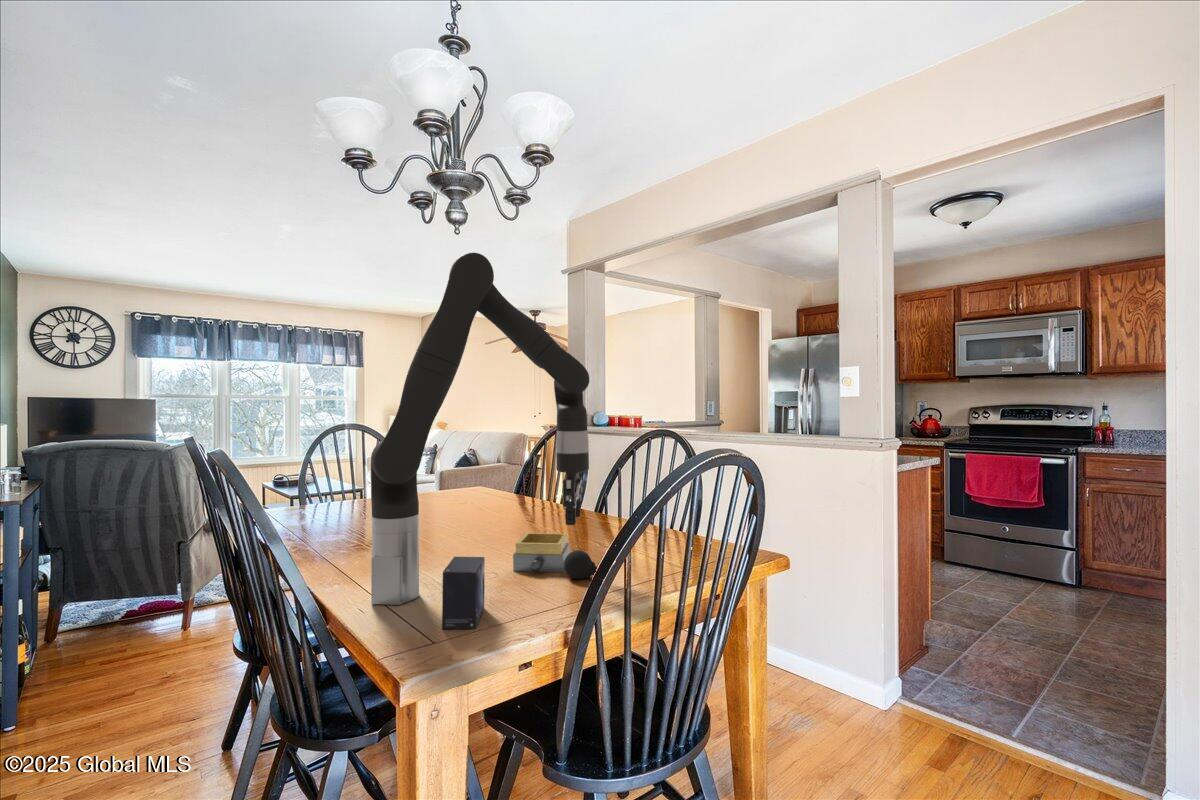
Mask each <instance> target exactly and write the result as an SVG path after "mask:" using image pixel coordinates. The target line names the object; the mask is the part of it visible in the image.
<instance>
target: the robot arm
mask: <svg viewBox="0 0 1200 800" xmlns="http://www.w3.org/2000/svg"><path fill="white" fill-rule="evenodd" d="M494 273H495V272H494V269H493V266H492V263H491V261H490V259H488V258H487V257H486V256H485V255H483V254H481V253H479V252H467V253H464V254H462V255H460V256H459V257H457V258H456V259H455V260H454V261H453V263H452V265H451V268H450V271H449V276H448V281H447V284H446V287H445V291H444V294H443V296H442V300H441V302H440V305H439V307H438V310H437V311H436V314H435V315H434V317H433V319H432V320H431V322H430V324H429V326H428V327H427V329H426V331H425V332H424V335H423V337H421V338H422V339H421V341H420V343H419V345H418V347H417V348H416V351H415V354H414V356H413V358H412V361H411V363H410V365H409V368H408V371H407V375H406V377H405V380H404V384H403V387H402V393H401V398H400V401H399V406H398V409H397V412H396V415H395V417H394V419H393V421H392V423H391V425H390V427H389V429H388V431H387V433H386V434H385V436H384V437H383V439H382V440H381V441H379V442H378V443H376V445H375V446H374V448H373V450H372V453H371V455H370V456H371V457H370V498H371V502H370V504H371V560H370V561H371V563H370V565H371V566H370V568H371V569H370V570H371V571H370V573H371V576H370V577H371V578H370V580H371V581H370V583H371V584H370V585H371V586H370V591H371V595H370V596H371V597H370V598H371V605H392V606H395V605H396V606H401V605H403V604H404V603H407V602H412V601H414V600H415V599H417V598H418V597H419V595H420V531H419V530H420V528H419V527H420V522H419V521H420V518H419V517H420V514H419V512H420V507H419V506H420V504H419V495H418V470H420V469H419V468H420V465H421V463H422V458H423V455H424V452H425V447H426V444H427V441H428V438H429V437H428V436H429V434H430V432H431V429H432V426H433V423H434V421H435V419H436V417H437V415H438V413H439V411H440V409H441V407H442V405H443V403H444V402H445V399H446V397H447V395H448V394H449V391H450V389H451V386H452V384H453V382H454V379H455V377H456V374H457V372H458V369H459V366H460V365H461V362H462V358H463V355H464V352H465V349H466V346H467V343H468V338H469V334H470V331H471V327H472V324H473V321H474V319H475V316H476V314H477V312H478V313H479V314H481V315H482V316H483V317H485V319H487V320H488V321H490V322H491V324H493V325H494V326H496V328H497V329H498V330H500V331H501V332H502V333H503V334H504V335H505V336H506V337H507V338H508V340H510V341H511V342H512V343H513V344H514V345H515V346H516V347H517V348H518V349H519V350H520V351H521V352H522V353H523V354H524V355H525V356H526V357H527V358H528V359H529V360H530V361H531V362H532V363H533V364H534V365H535V366H536V367H538V368H539V369H542V370H543V371H545V372H546V373H547V374H548V375H549V376H550V377H551V378H552V379H553V389H554V390H553V391H554V396H555V397H554V398H555V405H556V438H555V453H556V454H555V458H556V459H555V461H556V462H555V463H556V465H555V466H556V467H555V469H556V471H557V472H559V473H565V478H564V479H563V480H562V485H563V487H562V490H563V491H562V493H563V495H562V496H563V497H562V502H563V503H562V506H563V507H564V509H565V525H566V526H575V525H576V523H577V518H580V517H581V501H582V496H583V478H582V477H583V473H585V472H587V471H589V469H590V451H589V450H590V449H589V448H590V447H589V443H590V442H589V441H590V440H589V435H588V412H587V409H586V407H585V405H584V393H583V392H584V391H586V390H587V388H588V386H589V384H590V374H589V372H588V369H586V367H585V366H584V365H583V364H582V363H581V362H580V361H579V360H578V359H576V358H575V357H574V356H573V355H572V354H571V353H569V352H568V351H566V350H565V349H564V348H562V347H561V345H559V344H558V343H557V341H556V340H555V339H554V338H553V337H552V336H551V335H550V334H549V333H548V332H547V331H546V330H545V329H544V328H543V327H542V326H541V325H539V324H538V323H537V322H536V320H533V319H532V318H531V317H529V315H527V314H525V313H524V312H522V311H521V310H519V309H518V308H516V307H515V305H513V304H512V303H511V302H509V301H508V300H507V299H506V297H504V296H503V295H502V293H501V292H500V291H499V290H498V288H497V287H496V286H495V284H494V281H495V279H494V277H495V275H494Z"/></svg>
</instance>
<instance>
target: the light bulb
mask: <svg viewBox="0 0 1200 800" xmlns="http://www.w3.org/2000/svg"><path fill="white" fill-rule="evenodd" d="M597 567H598V566H596V562H594V561H593V560H592V558H591V556H590V555H589V554H588V553H587V552H586V551H584V550H579V549H578V550H577V549H576V550H573V551H570V553H569V554H568V556H567V557H566V559H565V562H564V568H565V569H564V571H565V573H566V575H568V576H569V577H570V578H572V579H574V580H581V579H582V580H583V579H585V578H586V577H587V578H591V577H592V576H593V575H594V573H595V572H596V569H597Z"/></svg>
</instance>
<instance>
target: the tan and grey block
mask: <svg viewBox="0 0 1200 800" xmlns="http://www.w3.org/2000/svg"><path fill="white" fill-rule="evenodd" d="M568 535H569V533H561V532H559V533H558V532H555V533H553V532H552V533H550V532H525V533H524V534H523V535H522V536H521V537H520V538H519V539H518V540H517V541H516V543H515V552H514V553H513V555H512V558H513V561H512V563H513V564H512V567H513V568H512V569H513V572H534V573H541V572H542V573H543V572H544V573H564V571H565V568H564V562H565V559H566V557H567V556H568V554H569V553H571V543H570V542H569V541H568V540H569V539H568V538H569V537H568Z"/></svg>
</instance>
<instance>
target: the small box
mask: <svg viewBox="0 0 1200 800" xmlns="http://www.w3.org/2000/svg"><path fill="white" fill-rule="evenodd" d="M485 569H486V568H485V556H453V558H452V559H451V560H450V562H449V563H448V564H447V566H446V567H445V569H443V571H442V592H441V593H442V596H441V597H442V602H441V604H442V610H441V611H442V612H441V613H442V614H441V630H473V629H474V630H475V629H476V628H477V625H479V621H480V619H481V617H482V614H483V612H484V610H485V578H486V577H485V576H486V575H485Z"/></svg>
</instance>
